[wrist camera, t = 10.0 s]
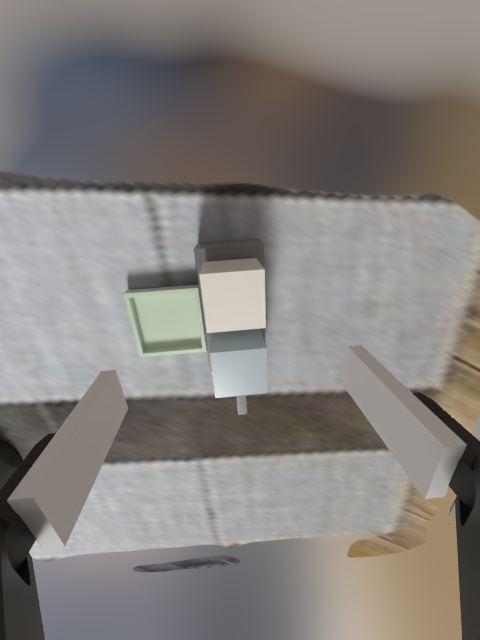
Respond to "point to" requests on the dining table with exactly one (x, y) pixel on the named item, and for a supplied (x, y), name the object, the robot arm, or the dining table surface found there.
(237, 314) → the plug
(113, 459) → the dining table surface
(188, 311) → the tray
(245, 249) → the strip
